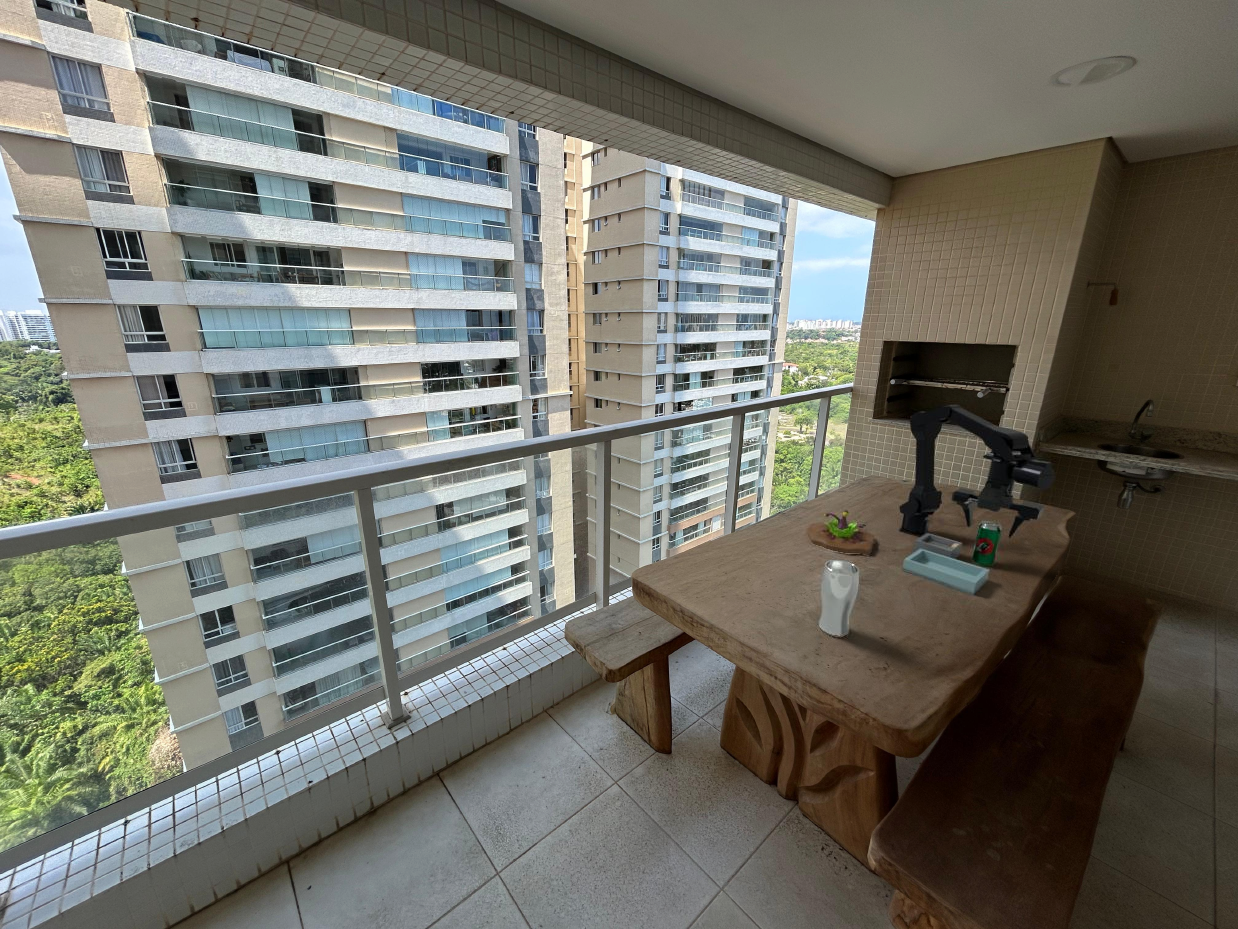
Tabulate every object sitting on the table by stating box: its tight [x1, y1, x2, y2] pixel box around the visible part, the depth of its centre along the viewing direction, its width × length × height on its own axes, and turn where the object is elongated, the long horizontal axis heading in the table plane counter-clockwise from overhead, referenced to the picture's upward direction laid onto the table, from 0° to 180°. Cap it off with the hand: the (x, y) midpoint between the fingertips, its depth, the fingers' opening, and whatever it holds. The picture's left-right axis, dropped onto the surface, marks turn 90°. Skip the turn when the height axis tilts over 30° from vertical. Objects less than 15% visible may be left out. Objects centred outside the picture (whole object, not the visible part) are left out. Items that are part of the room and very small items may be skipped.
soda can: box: [971, 520, 1003, 567], centre depth 126 cm, size 5×5×12 cm
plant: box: [805, 509, 877, 556], centre depth 141 cm, size 20×20×11 cm
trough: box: [902, 549, 990, 596], centre depth 120 cm, size 16×11×3 cm
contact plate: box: [927, 540, 951, 549], centre depth 133 cm, size 6×6×2 cm
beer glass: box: [818, 559, 860, 636], centre depth 97 cm, size 7×7×15 cm
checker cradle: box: [912, 532, 963, 560], centre depth 133 cm, size 9×9×4 cm
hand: (988, 531), depth 125 cm, fingers open, 9 cm apart
